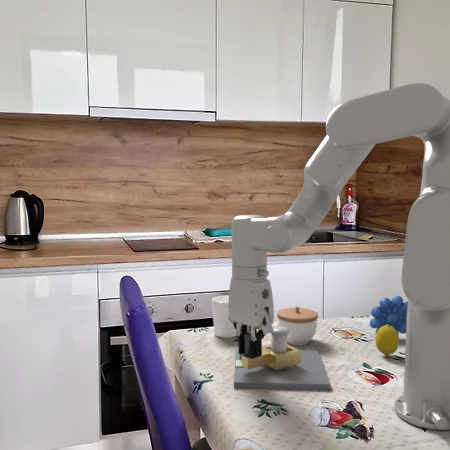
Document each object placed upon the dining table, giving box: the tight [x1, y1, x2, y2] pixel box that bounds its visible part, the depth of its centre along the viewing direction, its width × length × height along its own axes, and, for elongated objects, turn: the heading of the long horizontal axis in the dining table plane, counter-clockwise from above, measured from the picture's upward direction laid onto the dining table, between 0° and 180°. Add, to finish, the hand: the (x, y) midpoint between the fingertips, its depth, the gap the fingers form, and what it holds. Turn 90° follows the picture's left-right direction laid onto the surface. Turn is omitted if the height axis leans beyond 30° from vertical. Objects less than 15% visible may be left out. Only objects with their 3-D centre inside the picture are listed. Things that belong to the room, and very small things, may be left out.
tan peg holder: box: [242, 331, 302, 370], centre depth 115 cm, size 13×7×8 cm, turn 122°
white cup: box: [211, 294, 238, 339], centre depth 142 cm, size 8×8×10 cm
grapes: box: [369, 295, 408, 335], centre depth 139 cm, size 12×7×12 cm, turn 72°
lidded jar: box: [276, 306, 319, 346], centre depth 137 cm, size 11×11×9 cm
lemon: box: [374, 324, 400, 357], centre depth 126 cm, size 6×6×8 cm
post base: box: [233, 325, 331, 391], centre depth 117 cm, size 20×20×10 cm
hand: (250, 354), depth 113 cm, fingers closed on tan peg holder, 2 cm apart
